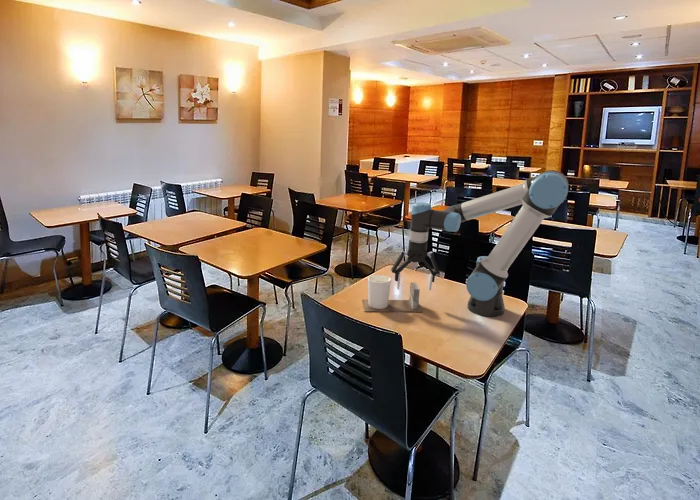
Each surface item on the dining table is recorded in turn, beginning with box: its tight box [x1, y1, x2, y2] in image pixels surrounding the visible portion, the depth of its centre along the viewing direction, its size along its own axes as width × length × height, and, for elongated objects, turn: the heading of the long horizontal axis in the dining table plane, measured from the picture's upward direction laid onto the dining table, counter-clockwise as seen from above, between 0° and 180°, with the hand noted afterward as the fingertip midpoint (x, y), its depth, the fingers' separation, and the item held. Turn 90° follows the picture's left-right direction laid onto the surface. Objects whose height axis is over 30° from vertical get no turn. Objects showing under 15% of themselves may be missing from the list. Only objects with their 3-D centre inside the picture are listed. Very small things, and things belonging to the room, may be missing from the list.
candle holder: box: [367, 274, 392, 309], centre depth 187 cm, size 10×10×12 cm
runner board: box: [361, 282, 423, 313], centre depth 188 cm, size 24×12×9 cm, turn 93°
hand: (413, 288), depth 188 cm, fingers open, 13 cm apart
